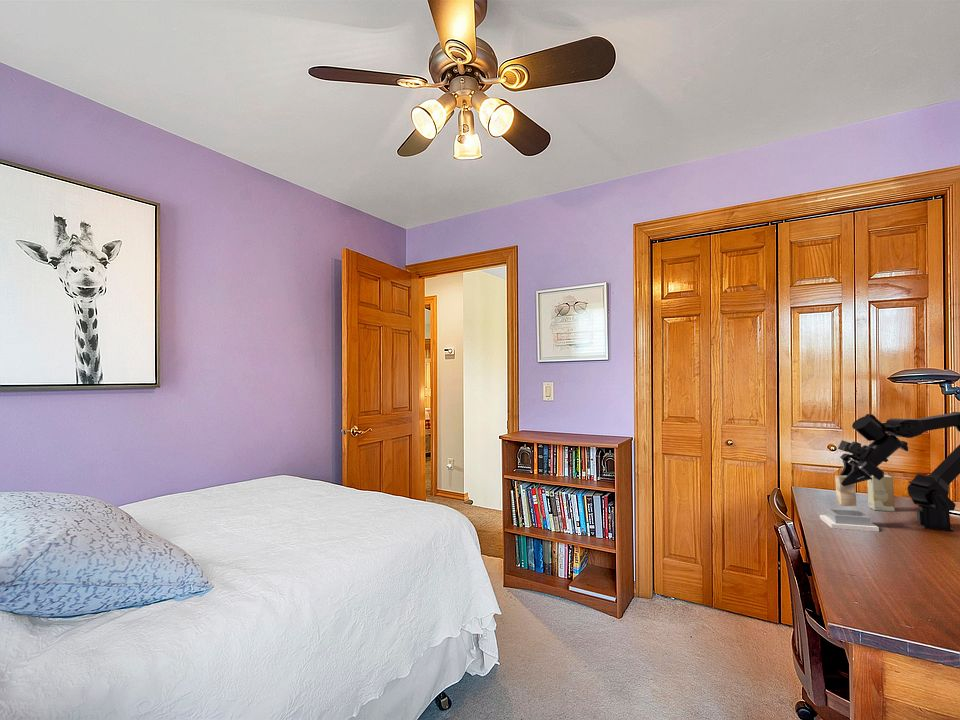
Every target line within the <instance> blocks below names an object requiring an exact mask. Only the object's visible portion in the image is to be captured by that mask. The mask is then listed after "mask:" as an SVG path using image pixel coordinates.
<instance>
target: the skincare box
mask: <svg viewBox="0 0 960 720" xmlns="http://www.w3.org/2000/svg"><path fill="white" fill-rule="evenodd" d="M871 478H872V480H866V481H867V502H868V505H867V506H868V508H870V509H872V510H874V511H884V512H895V509H896V508H895V507H896V506H895V491H894V490H895V489H894V477H893V476H891V475H889V474H884V477H883V478H882V479H881V480H877V479H875V478H874V476H873V475H872V476H871Z"/></svg>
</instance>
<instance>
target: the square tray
mask: <svg viewBox="0 0 960 720" xmlns="http://www.w3.org/2000/svg"><path fill="white" fill-rule="evenodd" d="M819 519H820V520H822V521H823V522H824V523H825V524H826V525H827V526H829V527H830V528H831V529H839V530H852V531H856V530H857V531H865V532H867V531H868V532H880V527H879V526H877V525H876V524H874V523H873V522H871V517H870V516H868V515H867V514H865V513H863V512H862V511H860V510H858V509H857V510H856V509H841V508H825V514H819Z"/></svg>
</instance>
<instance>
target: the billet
mask: <svg viewBox="0 0 960 720" xmlns="http://www.w3.org/2000/svg"><path fill="white" fill-rule="evenodd" d="M846 477H847V476H844V475H840V474H837V475H836V474H835V475H834V480H835V493H836V494H835V495H836V504H838V505H839V506H840V507H855V508H857V506H858V504H857V495H856V494H857V493H856V483H854V484H851V485H847V486H843V485H842V484H841V483H842V481H843V480H844V479H845V478H846Z"/></svg>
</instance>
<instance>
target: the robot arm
mask: <svg viewBox="0 0 960 720" xmlns="http://www.w3.org/2000/svg"><path fill="white" fill-rule="evenodd" d="M851 427H852V429H853V430H855V432H857V433H858V434H859V435H860V436H861V437H863V438H864V439H865V440H866V441H868V442H869V441H870V442H871V441H872V442H871V443H870V444H868V445H867V444H866V445H862V443H860V442H858V441H855V440H854V441H852V442H849V441H846V440H840V443H839V445H838V448H837V450H840V451H842V452H846V453H842V455H840V456H839V458H840V459H841V460H842V463H843V468H842V470H841V472H840V474H839V475H844V476H847V477H846V478H845V479H844V480H843V481H842V483H841V484H842V485H843V486H847V485H851V484H854V483H855V484H857V483H861V482H865V481H867V480H872V478H871V476H872V475H873V476H874V478H875V479H877V480H881V479H882V478H883V477H884V475H885V472H884V471H883V470H882V469H881V468H879V466H880V465H881V464H883V462H884V463H887V462H889V459H888V458H890V457H891V456H892V455H893V454H895V452H896V451H898V450H899V449H900V450H903V451H905V452H908V451H909V447H908V444H909V443H908V441H905V440H900V439H899V438H905V439H912V438H916V437H918V436H921V435H923V434H924V433H926V432H928V431H934V430H940V429H947V428H952V427H955V429H956V430H957V431H958V432H959V433H960V411H952V412H949V413H944V414H936V415H932V416H931V415H930V416H925V417H920V418H889V419H887V420H886V421H885V422H881V421H880V420H879V419H877V417H876V416H875V415H874V414H872V413H871V414H870V413H866V414H865V415H863V416H862V417H859V418H858V419H855V420H854V421H853V422H852V425H851ZM959 476H960V444H958V445H957V446H956V448H954V449H953V451H951V453H949V455H948V456H947V457H946V458H944V460H942V462H941V463H940V464H938V466H937V467H936V468H934V470H933V471H932V472H931V473H929V474H928V475H925V474H920V473H918V474H916V475H915V476H914V478H913V479H912V480H910V481H909V482H908V484H909V485H908V486H907V488H906V489H907V493H908V496H909V497H910V498H911V501H912V502H913V504H914V505H918V509H916V516H917V517H916V518H917V524H919V525H920V526H921V527H922V528H924V529H929V530H938V531H951V532H954V528H952V527H951V518H950V511H952V512H953V511H955V508H956V503H955V502H954V501H953V500H952V499H951V498H949V497H948V495H949V494H950V485H951V483H952V482H953V481H955V479H957V477H959Z"/></svg>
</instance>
